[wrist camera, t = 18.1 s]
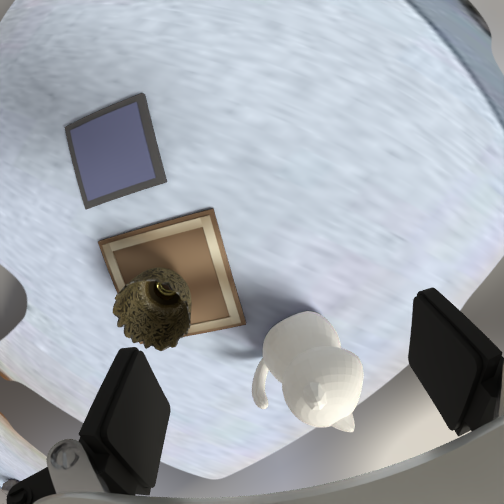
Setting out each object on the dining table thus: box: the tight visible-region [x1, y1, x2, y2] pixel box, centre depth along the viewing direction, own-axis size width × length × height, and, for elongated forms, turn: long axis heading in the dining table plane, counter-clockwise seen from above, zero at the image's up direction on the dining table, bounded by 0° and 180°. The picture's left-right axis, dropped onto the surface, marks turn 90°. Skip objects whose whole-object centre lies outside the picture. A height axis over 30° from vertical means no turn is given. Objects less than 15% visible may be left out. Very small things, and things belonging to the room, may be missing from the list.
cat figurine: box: [252, 311, 363, 432], centre depth 30 cm, size 9×12×15 cm
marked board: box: [98, 209, 246, 344], centre depth 34 cm, size 14×14×1 cm
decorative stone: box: [2, 479, 20, 495], centre depth 56 cm, size 15×7×10 cm
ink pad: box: [65, 93, 167, 209], centre depth 29 cm, size 10×10×1 cm
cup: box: [113, 267, 192, 351], centre depth 30 cm, size 8×7×8 cm
